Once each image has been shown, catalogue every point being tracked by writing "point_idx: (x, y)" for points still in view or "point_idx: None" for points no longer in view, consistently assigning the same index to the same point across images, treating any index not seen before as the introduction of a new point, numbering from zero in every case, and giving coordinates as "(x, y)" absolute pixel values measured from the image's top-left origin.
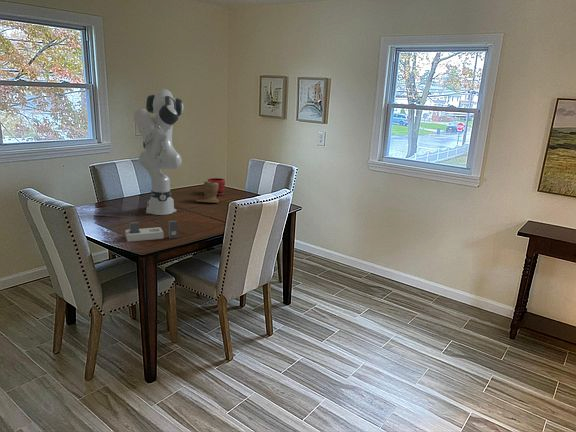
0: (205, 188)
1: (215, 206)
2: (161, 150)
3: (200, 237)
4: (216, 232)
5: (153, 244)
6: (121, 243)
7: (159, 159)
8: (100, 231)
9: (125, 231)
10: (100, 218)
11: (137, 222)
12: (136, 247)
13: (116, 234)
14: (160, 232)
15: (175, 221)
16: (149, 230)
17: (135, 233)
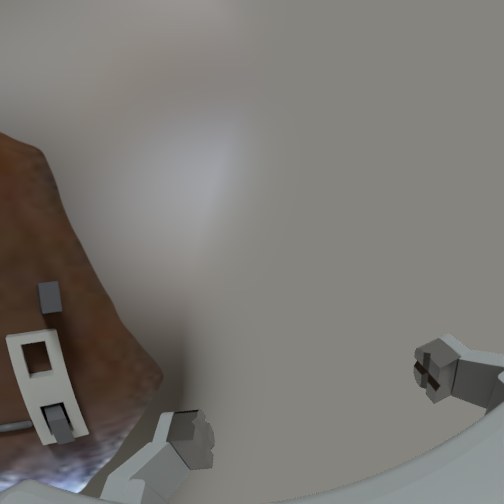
0: None
1: None
2: (306, 500)
3: (59, 213)
4: (32, 156)
5: (102, 357)
6: (98, 438)
7: (210, 462)
8: None
9: (44, 442)
10: None
11: (57, 422)
12: (124, 398)
13: (31, 459)
14: (58, 340)
15: (52, 287)
16: (28, 374)
17: (71, 415)
